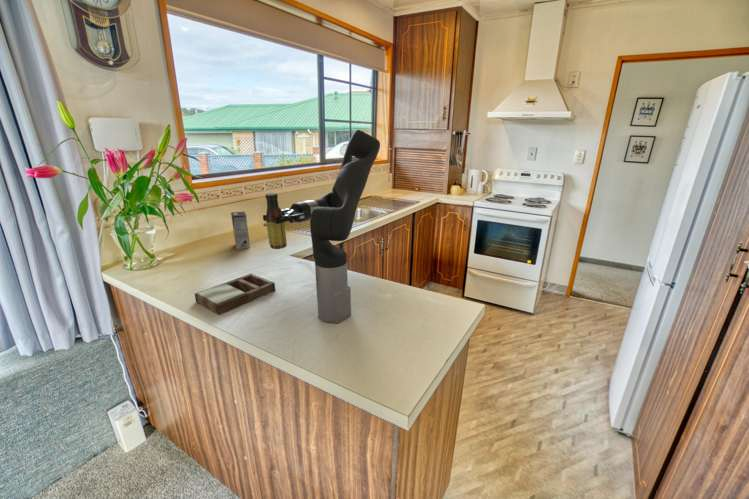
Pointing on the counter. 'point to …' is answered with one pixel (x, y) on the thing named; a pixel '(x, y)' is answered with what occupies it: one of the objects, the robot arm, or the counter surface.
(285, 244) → the sauce bottle
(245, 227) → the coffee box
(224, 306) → the board
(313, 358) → the counter surface
